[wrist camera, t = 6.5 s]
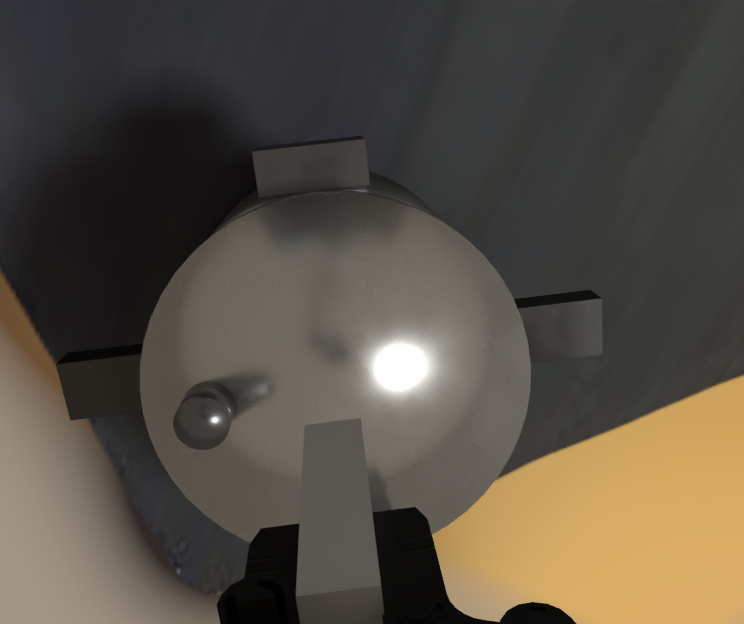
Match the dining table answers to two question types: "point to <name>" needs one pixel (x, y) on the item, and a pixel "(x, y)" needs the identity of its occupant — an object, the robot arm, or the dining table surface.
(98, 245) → the dining table surface
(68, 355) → the steel pot
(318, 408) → the pot lid
